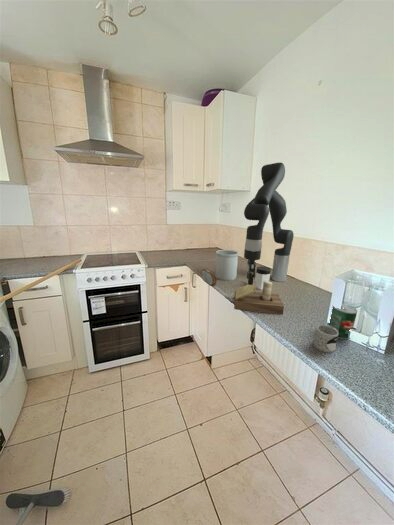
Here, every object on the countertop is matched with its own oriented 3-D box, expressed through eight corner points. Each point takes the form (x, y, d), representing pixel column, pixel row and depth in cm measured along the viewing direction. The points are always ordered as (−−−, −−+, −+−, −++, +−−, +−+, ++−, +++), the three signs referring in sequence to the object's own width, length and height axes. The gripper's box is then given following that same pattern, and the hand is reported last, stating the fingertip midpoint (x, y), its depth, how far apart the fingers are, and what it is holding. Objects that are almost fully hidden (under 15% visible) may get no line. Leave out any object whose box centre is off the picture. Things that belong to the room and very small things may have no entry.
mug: (329, 355, 73) (332, 338, 71) (309, 344, 78) (312, 328, 76) (342, 345, 78) (346, 329, 76) (323, 335, 84) (327, 320, 82)
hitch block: (234, 297, 116) (234, 290, 115) (277, 301, 112) (278, 294, 111) (234, 309, 102) (234, 301, 101) (282, 314, 99) (284, 306, 98)
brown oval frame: (216, 287, 128) (217, 273, 126) (212, 288, 127) (212, 274, 125) (204, 279, 141) (205, 266, 139) (200, 279, 140) (201, 267, 138)
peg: (260, 303, 109) (263, 281, 106) (268, 304, 108) (271, 281, 105) (261, 307, 105) (264, 284, 102) (269, 308, 104) (272, 284, 101)
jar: (257, 290, 126) (259, 270, 122) (251, 285, 133) (253, 266, 130) (271, 289, 127) (274, 270, 124) (265, 284, 135) (267, 266, 131)
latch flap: (236, 291, 113) (235, 289, 113) (254, 283, 110) (253, 282, 110) (236, 300, 102) (235, 298, 102) (256, 291, 100) (255, 290, 100)
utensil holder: (215, 280, 139) (217, 254, 134) (213, 273, 153) (214, 249, 148) (238, 281, 139) (240, 254, 134) (234, 274, 153) (236, 249, 149)
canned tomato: (330, 325, 91) (335, 301, 88) (352, 333, 86) (359, 308, 83) (325, 333, 85) (330, 307, 82) (348, 342, 80) (355, 315, 77)
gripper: (244, 245, 108) (241, 276, 112) (245, 251, 94) (242, 286, 99) (259, 246, 107) (256, 277, 111) (263, 252, 93) (259, 287, 97)
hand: (249, 281), depth 105 cm, fingers open, 8 cm apart
